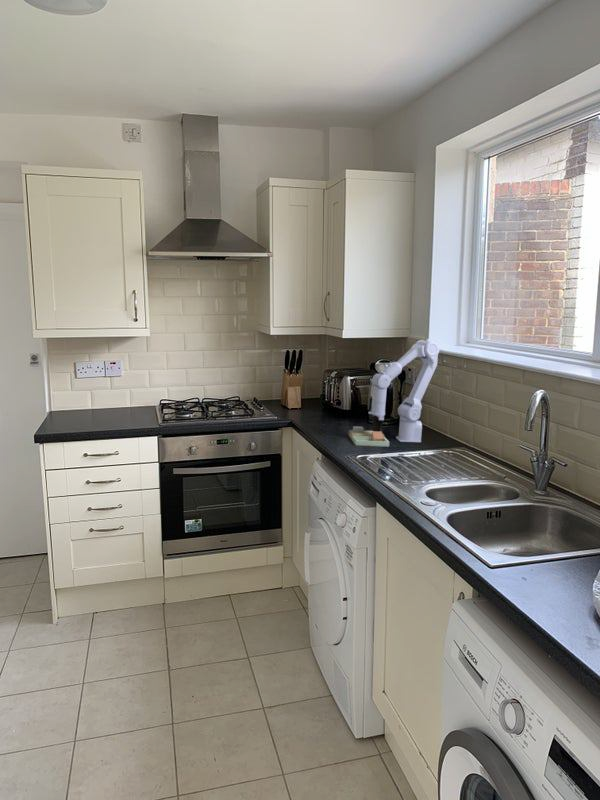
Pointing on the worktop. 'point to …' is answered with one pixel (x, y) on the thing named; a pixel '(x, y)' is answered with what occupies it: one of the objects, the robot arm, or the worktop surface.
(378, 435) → the terracotta tile
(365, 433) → the board
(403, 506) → the worktop surface
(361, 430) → the grey tile
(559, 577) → the worktop surface
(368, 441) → the tray
